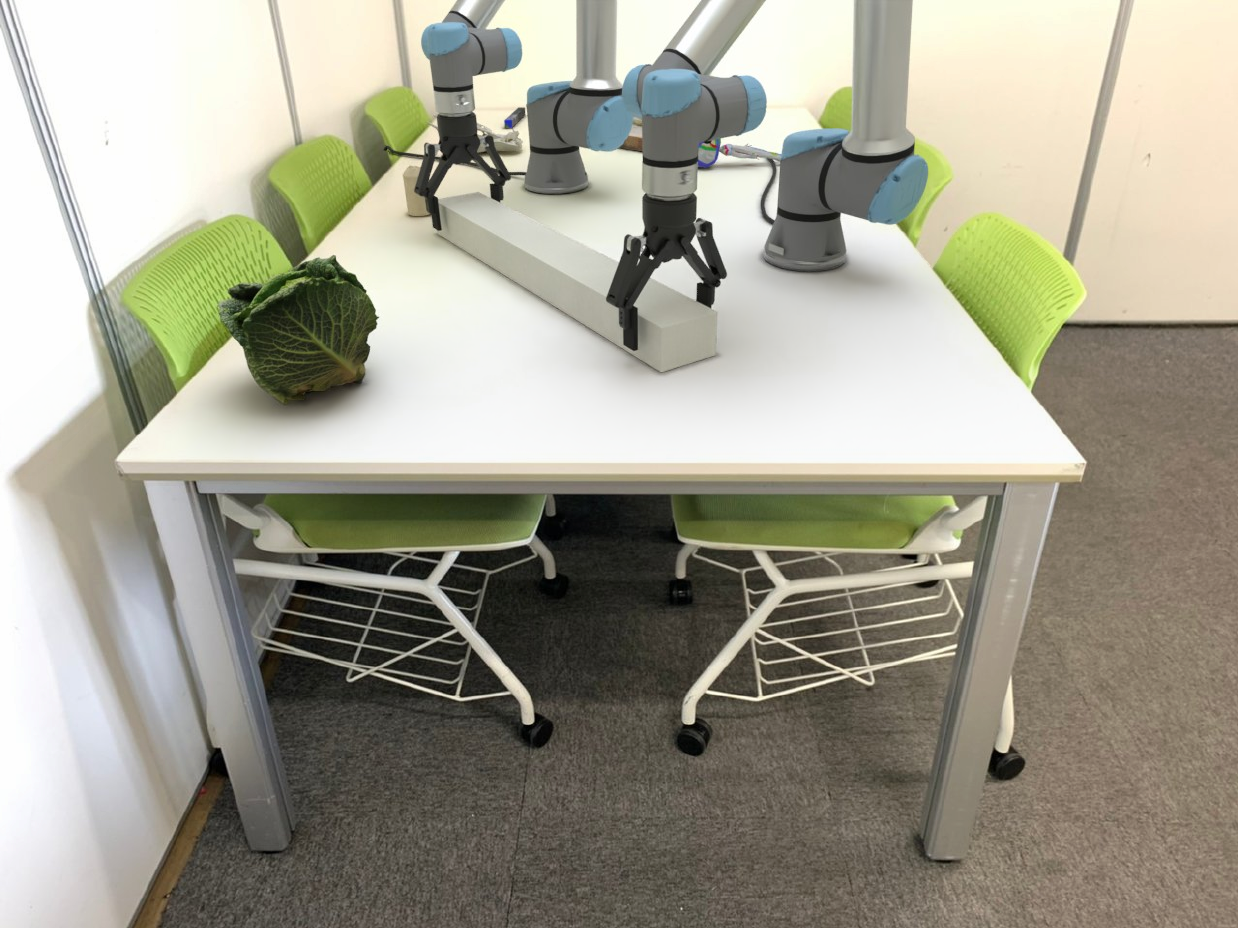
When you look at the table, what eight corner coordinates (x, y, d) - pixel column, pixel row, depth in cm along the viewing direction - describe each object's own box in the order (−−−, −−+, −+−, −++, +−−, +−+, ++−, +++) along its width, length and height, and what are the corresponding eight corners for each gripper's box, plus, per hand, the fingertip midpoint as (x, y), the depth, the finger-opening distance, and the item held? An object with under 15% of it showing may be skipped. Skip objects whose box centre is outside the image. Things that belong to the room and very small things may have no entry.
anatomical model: (438, 112, 249) (525, 110, 245) (443, 146, 254) (528, 145, 250) (420, 123, 236) (511, 122, 233) (426, 159, 241) (515, 158, 238)
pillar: (525, 107, 285) (511, 120, 268) (525, 114, 286) (511, 128, 269) (518, 107, 285) (503, 120, 268) (518, 114, 286) (504, 128, 270)
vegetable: (300, 411, 136) (210, 300, 128) (407, 340, 137) (324, 225, 129) (292, 446, 117) (186, 319, 110) (414, 364, 119) (318, 232, 111)
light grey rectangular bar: (437, 234, 186) (433, 200, 182) (481, 225, 190) (478, 191, 186) (661, 372, 130) (661, 328, 126) (715, 355, 135) (717, 311, 131)
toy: (810, 148, 223) (693, 134, 219) (802, 182, 228) (688, 169, 223) (799, 138, 232) (687, 125, 227) (792, 172, 236) (681, 159, 232)
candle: (438, 210, 199) (432, 164, 194) (425, 217, 195) (419, 170, 189) (416, 208, 201) (410, 162, 195) (403, 215, 196) (396, 168, 191)
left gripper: (402, 124, 163) (418, 239, 175) (522, 108, 175) (529, 216, 186) (387, 118, 168) (403, 229, 180) (504, 102, 180) (512, 207, 191)
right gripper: (608, 216, 114) (612, 366, 126) (756, 184, 126) (747, 325, 137) (578, 202, 120) (584, 348, 131) (722, 173, 131) (716, 309, 143)
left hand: (467, 223), depth 183 cm, fingers open, 13 cm apart
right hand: (667, 336), depth 134 cm, fingers open, 13 cm apart
